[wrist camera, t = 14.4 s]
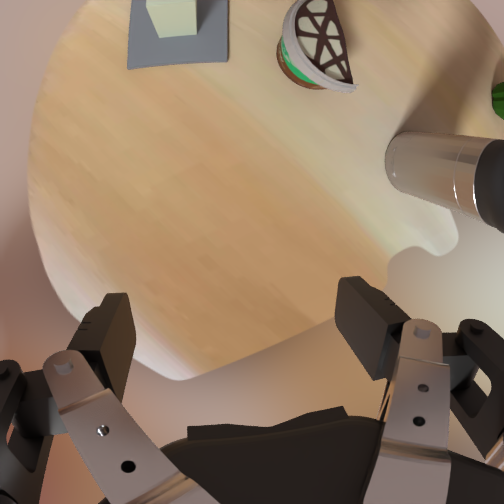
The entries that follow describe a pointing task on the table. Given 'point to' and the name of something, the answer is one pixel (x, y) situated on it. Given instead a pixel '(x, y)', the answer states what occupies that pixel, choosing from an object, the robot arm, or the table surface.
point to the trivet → (178, 38)
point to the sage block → (173, 17)
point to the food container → (315, 47)
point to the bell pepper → (498, 100)
